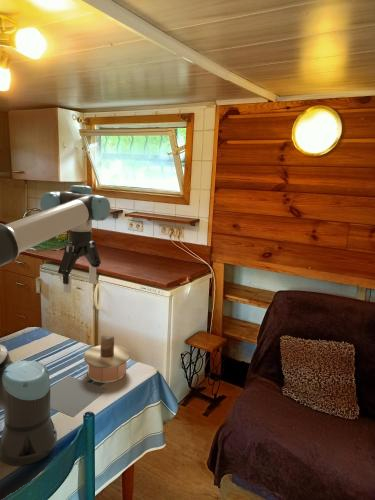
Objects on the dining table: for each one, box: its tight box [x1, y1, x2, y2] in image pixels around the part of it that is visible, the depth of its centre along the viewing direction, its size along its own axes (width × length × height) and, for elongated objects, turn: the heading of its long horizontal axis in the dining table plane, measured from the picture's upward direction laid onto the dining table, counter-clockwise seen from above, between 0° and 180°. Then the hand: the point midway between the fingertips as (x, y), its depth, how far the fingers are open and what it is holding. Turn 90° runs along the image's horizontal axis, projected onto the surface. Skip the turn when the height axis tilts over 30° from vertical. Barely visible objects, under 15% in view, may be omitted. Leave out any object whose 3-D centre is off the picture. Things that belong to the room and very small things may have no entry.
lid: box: [83, 334, 131, 368], centre depth 141 cm, size 17×17×8 cm
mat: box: [50, 375, 108, 418], centre depth 128 cm, size 18×18×1 cm
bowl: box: [86, 361, 128, 384], centre depth 143 cm, size 14×14×7 cm
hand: (80, 287), depth 135 cm, fingers open, 13 cm apart
